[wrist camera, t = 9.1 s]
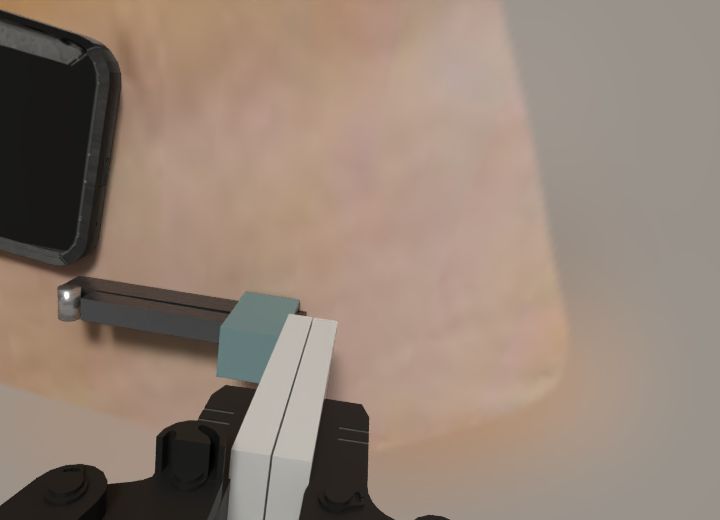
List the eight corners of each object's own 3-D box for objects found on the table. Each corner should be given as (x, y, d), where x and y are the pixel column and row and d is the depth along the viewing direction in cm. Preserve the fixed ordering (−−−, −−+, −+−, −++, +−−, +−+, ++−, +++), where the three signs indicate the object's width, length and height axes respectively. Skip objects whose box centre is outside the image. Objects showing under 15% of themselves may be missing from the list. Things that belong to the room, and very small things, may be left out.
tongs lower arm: (79, 295, 19) (62, 305, 18) (78, 275, 19) (62, 284, 18) (303, 331, 19) (299, 343, 18) (306, 312, 19) (302, 323, 18)
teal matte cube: (241, 334, 19) (216, 376, 16) (246, 291, 18) (220, 327, 15) (294, 342, 19) (278, 386, 16) (299, 300, 18) (284, 337, 16)
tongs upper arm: (66, 311, 18) (53, 319, 17) (65, 282, 18) (52, 289, 17) (298, 350, 18) (294, 360, 17) (302, 321, 17) (298, 331, 17)
